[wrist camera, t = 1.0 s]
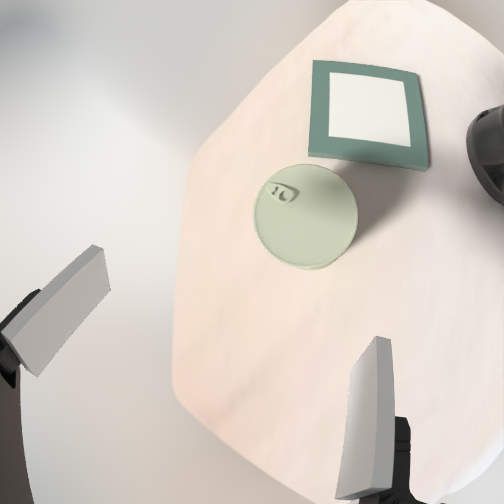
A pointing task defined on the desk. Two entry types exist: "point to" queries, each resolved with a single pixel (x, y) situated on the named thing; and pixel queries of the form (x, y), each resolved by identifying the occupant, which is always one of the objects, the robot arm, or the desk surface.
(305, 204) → the can
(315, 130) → the board
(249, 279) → the desk surface
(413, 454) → the desk surface
